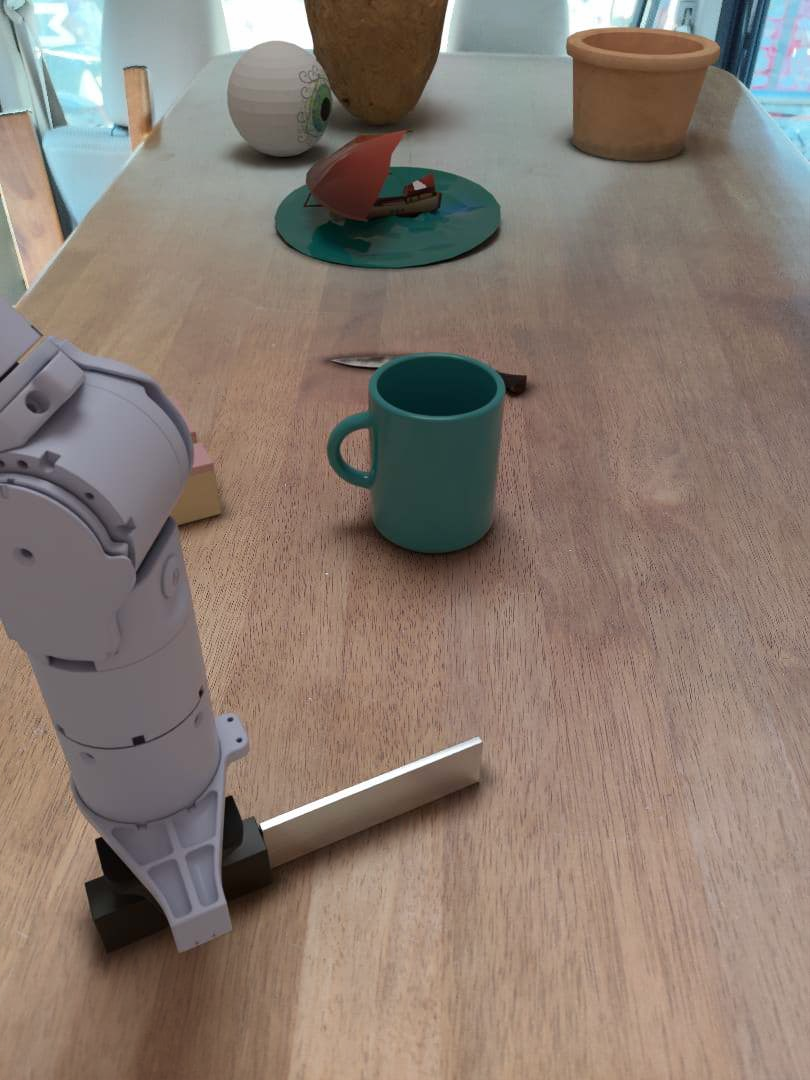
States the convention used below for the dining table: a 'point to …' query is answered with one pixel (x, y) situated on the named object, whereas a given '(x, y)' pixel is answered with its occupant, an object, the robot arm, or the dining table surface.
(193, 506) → the cake slice
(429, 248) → the sailing ship model
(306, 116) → the decorative object
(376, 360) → the knife
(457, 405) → the cup
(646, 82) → the pottery
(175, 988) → the dining table surface
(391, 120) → the brown rounded tapered piece
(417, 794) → the cake knife
